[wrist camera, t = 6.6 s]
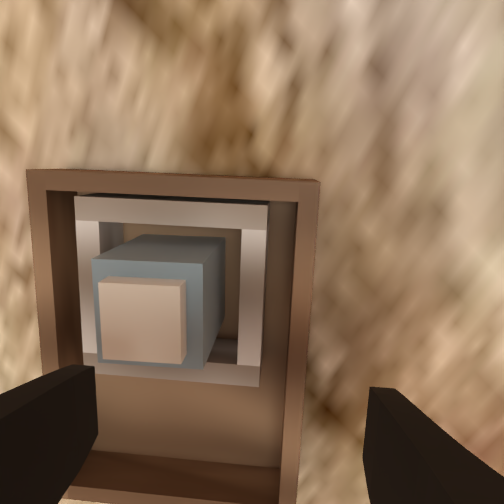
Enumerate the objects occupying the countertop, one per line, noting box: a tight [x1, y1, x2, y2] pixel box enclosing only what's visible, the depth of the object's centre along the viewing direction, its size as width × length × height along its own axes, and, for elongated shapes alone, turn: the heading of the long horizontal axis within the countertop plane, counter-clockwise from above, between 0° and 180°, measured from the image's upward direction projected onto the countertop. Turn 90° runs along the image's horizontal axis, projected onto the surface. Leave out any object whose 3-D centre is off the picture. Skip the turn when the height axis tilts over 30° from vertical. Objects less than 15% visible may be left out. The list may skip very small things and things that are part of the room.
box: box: [26, 169, 320, 504], centre depth 19 cm, size 16×12×3 cm
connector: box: [91, 234, 226, 370], centre depth 16 cm, size 4×4×6 cm
